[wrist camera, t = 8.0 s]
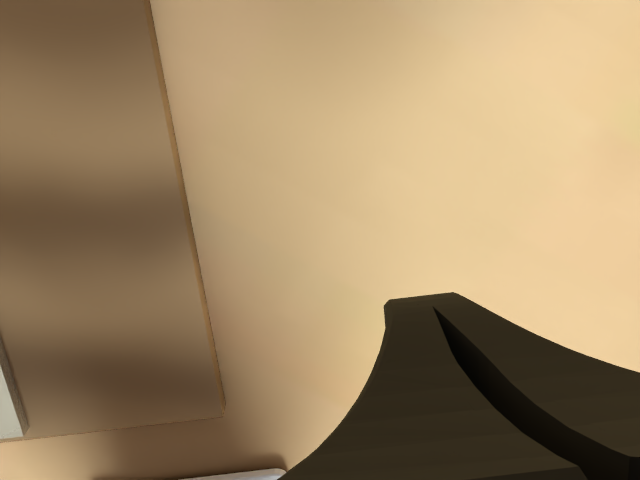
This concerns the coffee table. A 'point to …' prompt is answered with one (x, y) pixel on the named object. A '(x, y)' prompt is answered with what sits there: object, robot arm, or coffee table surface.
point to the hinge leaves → (10, 402)
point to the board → (96, 226)
